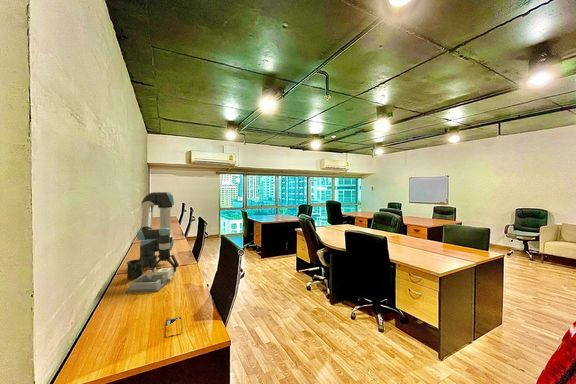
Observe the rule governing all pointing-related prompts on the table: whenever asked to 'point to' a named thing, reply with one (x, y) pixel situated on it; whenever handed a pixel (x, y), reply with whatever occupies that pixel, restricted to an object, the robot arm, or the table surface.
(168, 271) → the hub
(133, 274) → the mug
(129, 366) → the table surface
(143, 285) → the grey walled tray
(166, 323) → the smartphone
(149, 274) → the post
